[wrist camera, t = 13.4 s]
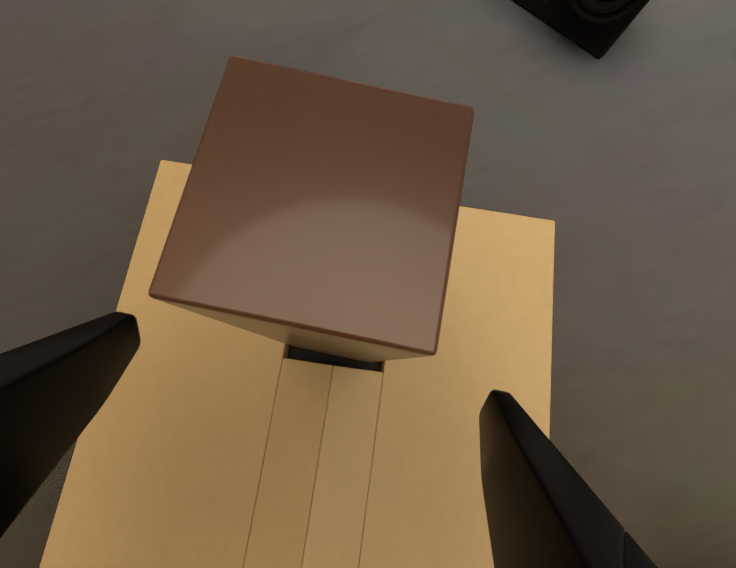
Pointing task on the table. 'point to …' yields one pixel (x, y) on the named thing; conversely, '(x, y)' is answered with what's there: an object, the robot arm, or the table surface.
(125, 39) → the table surface
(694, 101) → the table surface
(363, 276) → the peg
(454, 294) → the pad
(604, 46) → the digital camera
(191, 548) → the pad
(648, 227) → the table surface
